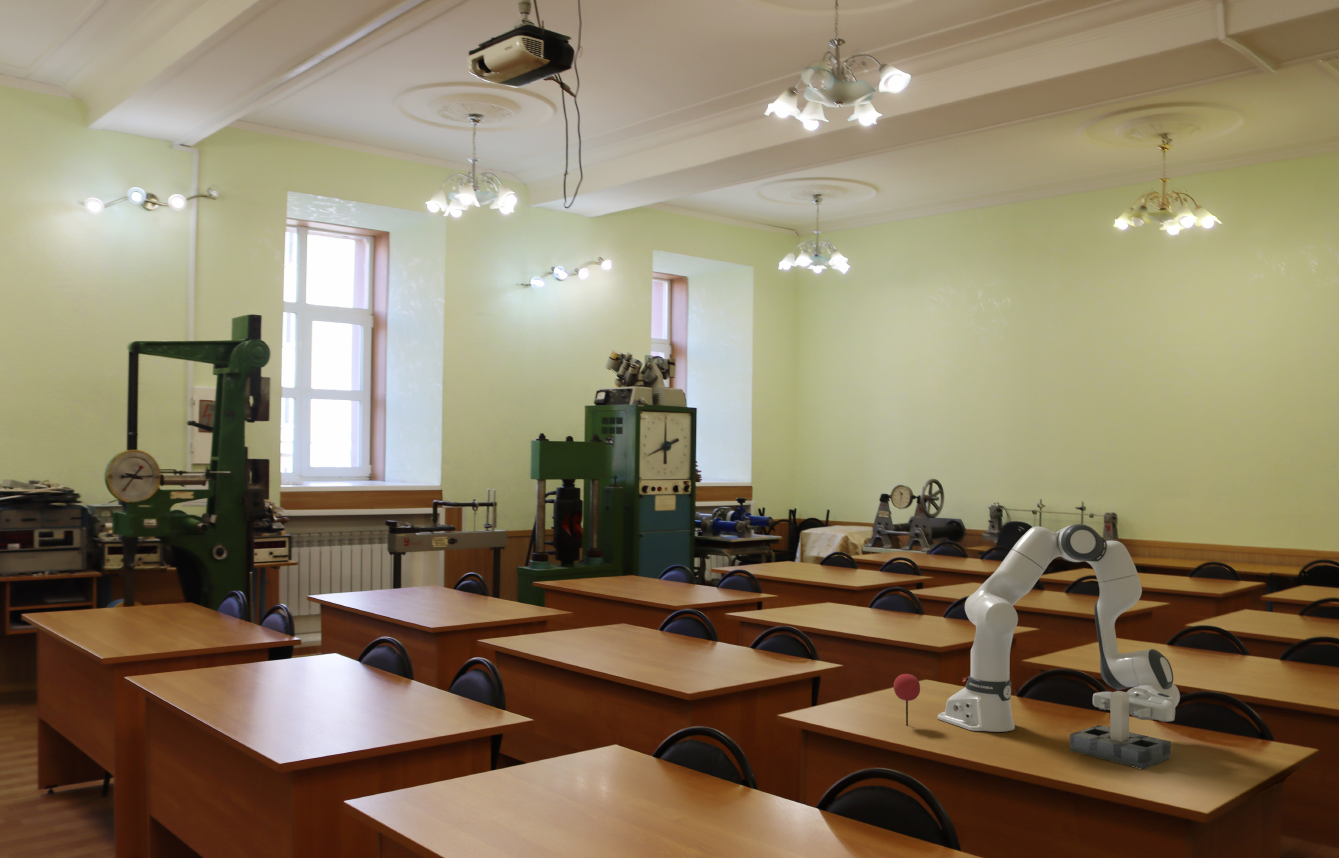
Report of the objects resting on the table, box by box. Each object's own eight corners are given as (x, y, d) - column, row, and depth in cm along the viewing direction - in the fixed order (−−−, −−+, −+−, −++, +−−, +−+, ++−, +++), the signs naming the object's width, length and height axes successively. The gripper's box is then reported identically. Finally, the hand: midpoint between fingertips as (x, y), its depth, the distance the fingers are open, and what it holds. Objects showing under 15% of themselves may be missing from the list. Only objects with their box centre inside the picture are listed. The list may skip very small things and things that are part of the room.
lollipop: (917, 722, 285) (918, 671, 285) (921, 729, 277) (922, 677, 278) (891, 721, 285) (892, 670, 286) (895, 728, 278) (895, 676, 278)
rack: (1142, 769, 243) (1142, 751, 243) (1069, 750, 258) (1070, 734, 259) (1170, 758, 253) (1170, 741, 253) (1098, 740, 268) (1098, 724, 269)
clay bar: (1121, 751, 253) (1121, 695, 254) (1110, 748, 256) (1110, 692, 256) (1129, 748, 256) (1129, 692, 257) (1117, 745, 258) (1117, 690, 259)
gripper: (1105, 684, 273) (1081, 690, 264) (1180, 698, 257) (1157, 706, 248) (1105, 706, 272) (1081, 713, 264) (1180, 722, 257) (1157, 730, 248)
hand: (1118, 710), depth 256 cm, fingers open, 8 cm apart
